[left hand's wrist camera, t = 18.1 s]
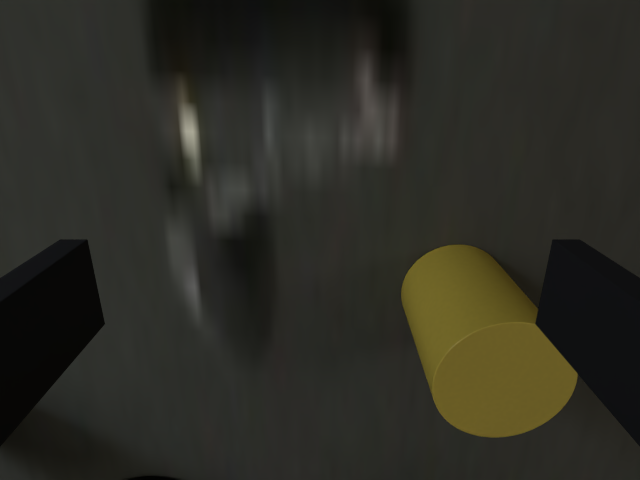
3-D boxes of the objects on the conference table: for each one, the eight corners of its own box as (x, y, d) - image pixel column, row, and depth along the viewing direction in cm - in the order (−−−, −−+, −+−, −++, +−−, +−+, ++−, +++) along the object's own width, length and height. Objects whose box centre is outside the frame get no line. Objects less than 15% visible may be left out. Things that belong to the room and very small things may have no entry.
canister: (437, 226, 37) (487, 298, 25) (525, 271, 38) (609, 358, 27) (382, 310, 40) (405, 407, 28) (465, 348, 41) (518, 455, 30)
